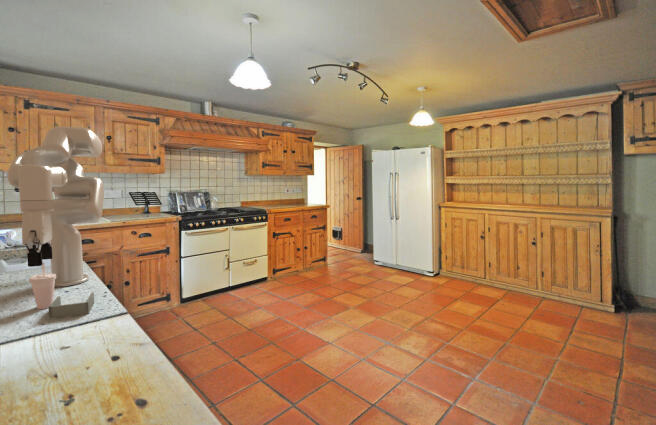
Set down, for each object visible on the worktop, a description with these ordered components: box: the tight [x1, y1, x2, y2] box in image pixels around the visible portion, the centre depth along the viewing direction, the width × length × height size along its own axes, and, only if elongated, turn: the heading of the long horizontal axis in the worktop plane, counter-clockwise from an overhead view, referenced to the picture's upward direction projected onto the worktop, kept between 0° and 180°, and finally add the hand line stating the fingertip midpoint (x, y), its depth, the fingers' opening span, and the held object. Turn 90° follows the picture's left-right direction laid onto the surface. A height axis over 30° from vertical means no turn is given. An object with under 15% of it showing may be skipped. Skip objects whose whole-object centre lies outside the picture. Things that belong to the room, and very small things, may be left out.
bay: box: [48, 292, 95, 320], centre depth 102 cm, size 9×9×4 cm
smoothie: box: [29, 261, 56, 310], centre depth 104 cm, size 6×6×14 cm
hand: (40, 262), depth 102 cm, fingers open, 9 cm apart
